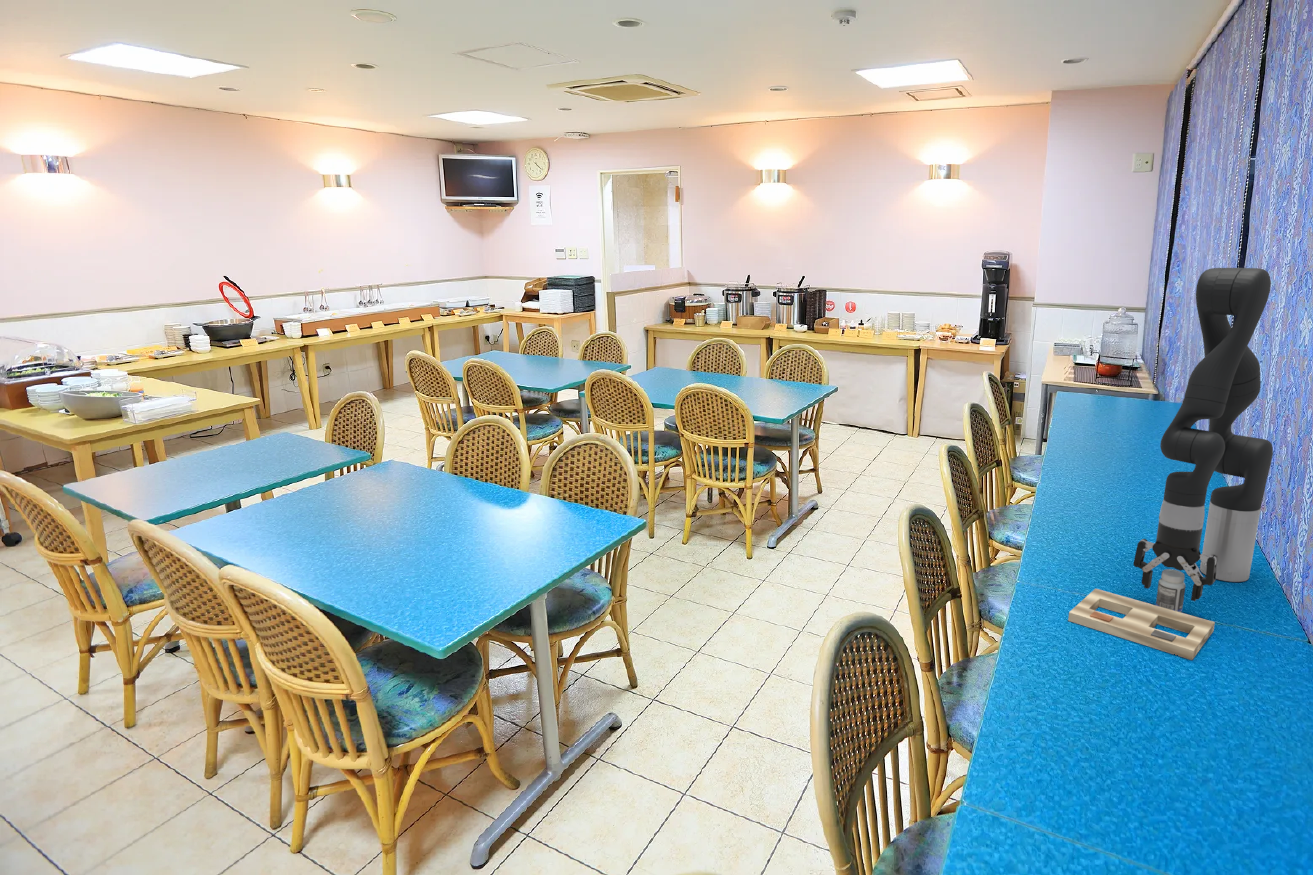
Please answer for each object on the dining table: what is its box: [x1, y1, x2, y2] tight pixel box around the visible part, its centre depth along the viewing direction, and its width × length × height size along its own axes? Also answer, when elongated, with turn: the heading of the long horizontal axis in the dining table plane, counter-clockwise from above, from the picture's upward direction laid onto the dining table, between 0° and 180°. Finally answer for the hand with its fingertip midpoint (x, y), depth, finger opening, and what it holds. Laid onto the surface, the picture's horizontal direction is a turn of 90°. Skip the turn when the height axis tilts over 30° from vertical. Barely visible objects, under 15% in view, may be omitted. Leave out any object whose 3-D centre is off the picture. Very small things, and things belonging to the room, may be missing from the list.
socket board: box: [1067, 588, 1216, 661], centre depth 153 cm, size 15×22×2 cm
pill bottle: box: [1155, 568, 1186, 613], centre depth 159 cm, size 5×5×8 cm
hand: (1170, 593), depth 159 cm, fingers open, 8 cm apart
